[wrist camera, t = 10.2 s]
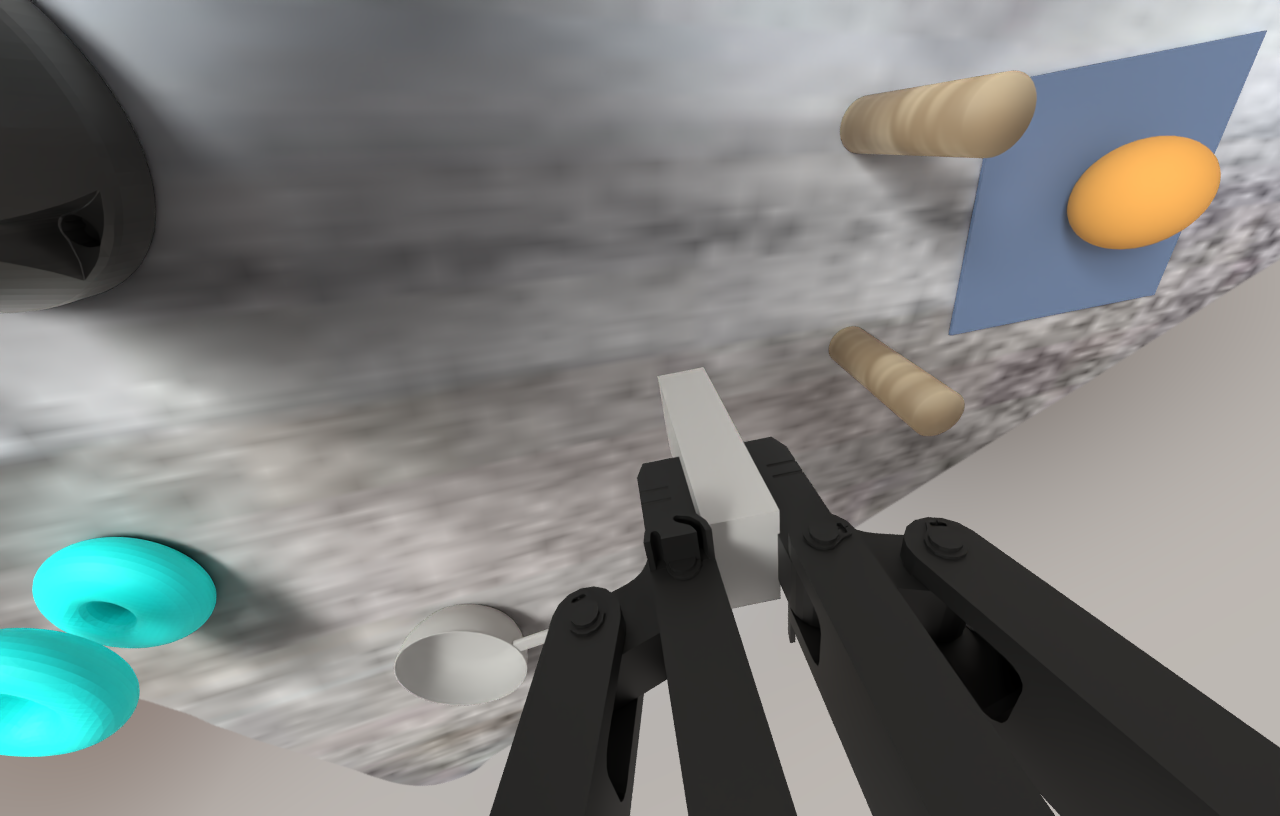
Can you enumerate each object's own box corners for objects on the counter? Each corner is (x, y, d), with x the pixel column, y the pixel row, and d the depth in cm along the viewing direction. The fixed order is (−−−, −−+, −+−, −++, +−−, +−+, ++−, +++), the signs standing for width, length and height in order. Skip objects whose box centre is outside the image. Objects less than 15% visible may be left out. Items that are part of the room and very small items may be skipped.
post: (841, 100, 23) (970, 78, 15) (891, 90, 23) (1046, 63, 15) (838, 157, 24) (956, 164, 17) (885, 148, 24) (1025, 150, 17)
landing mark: (998, 83, 23) (1001, 82, 23) (1262, 31, 23) (1266, 30, 23) (948, 334, 31) (950, 335, 30) (1151, 293, 31) (1154, 294, 30)
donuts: (134, 705, 26) (84, 779, 29) (247, 565, 34) (199, 633, 38) (-112, 648, 22) (-140, 741, 25) (85, 505, 30) (46, 587, 33)
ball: (1180, 122, 25) (1060, 144, 26) (1284, 126, 20) (1132, 153, 21) (1141, 227, 27) (1035, 243, 29) (1224, 252, 23) (1094, 269, 24)
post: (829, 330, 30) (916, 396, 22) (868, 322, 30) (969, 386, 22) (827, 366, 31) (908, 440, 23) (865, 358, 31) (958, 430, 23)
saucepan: (380, 622, 39) (362, 666, 36) (562, 545, 37) (560, 584, 34) (457, 680, 45) (447, 722, 41) (621, 615, 42) (624, 655, 39)
